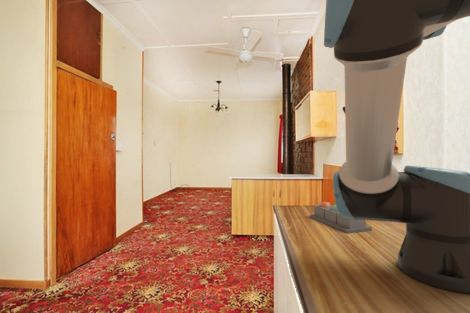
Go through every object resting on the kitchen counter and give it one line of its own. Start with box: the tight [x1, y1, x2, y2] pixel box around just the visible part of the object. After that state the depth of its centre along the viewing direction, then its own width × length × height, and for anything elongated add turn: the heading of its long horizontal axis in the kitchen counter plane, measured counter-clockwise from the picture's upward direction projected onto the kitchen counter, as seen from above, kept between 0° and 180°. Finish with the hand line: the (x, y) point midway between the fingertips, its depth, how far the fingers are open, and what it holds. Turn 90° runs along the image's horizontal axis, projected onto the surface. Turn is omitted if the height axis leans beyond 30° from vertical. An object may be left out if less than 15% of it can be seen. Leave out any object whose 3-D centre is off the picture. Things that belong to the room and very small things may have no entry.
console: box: [309, 204, 373, 234], centre depth 88 cm, size 22×10×5 cm, turn 15°
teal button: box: [331, 204, 338, 212], centre depth 88 cm, size 4×4×4 cm
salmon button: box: [320, 201, 331, 208], centre depth 95 cm, size 4×4×4 cm
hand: (360, 154), depth 74 cm, fingers closed
